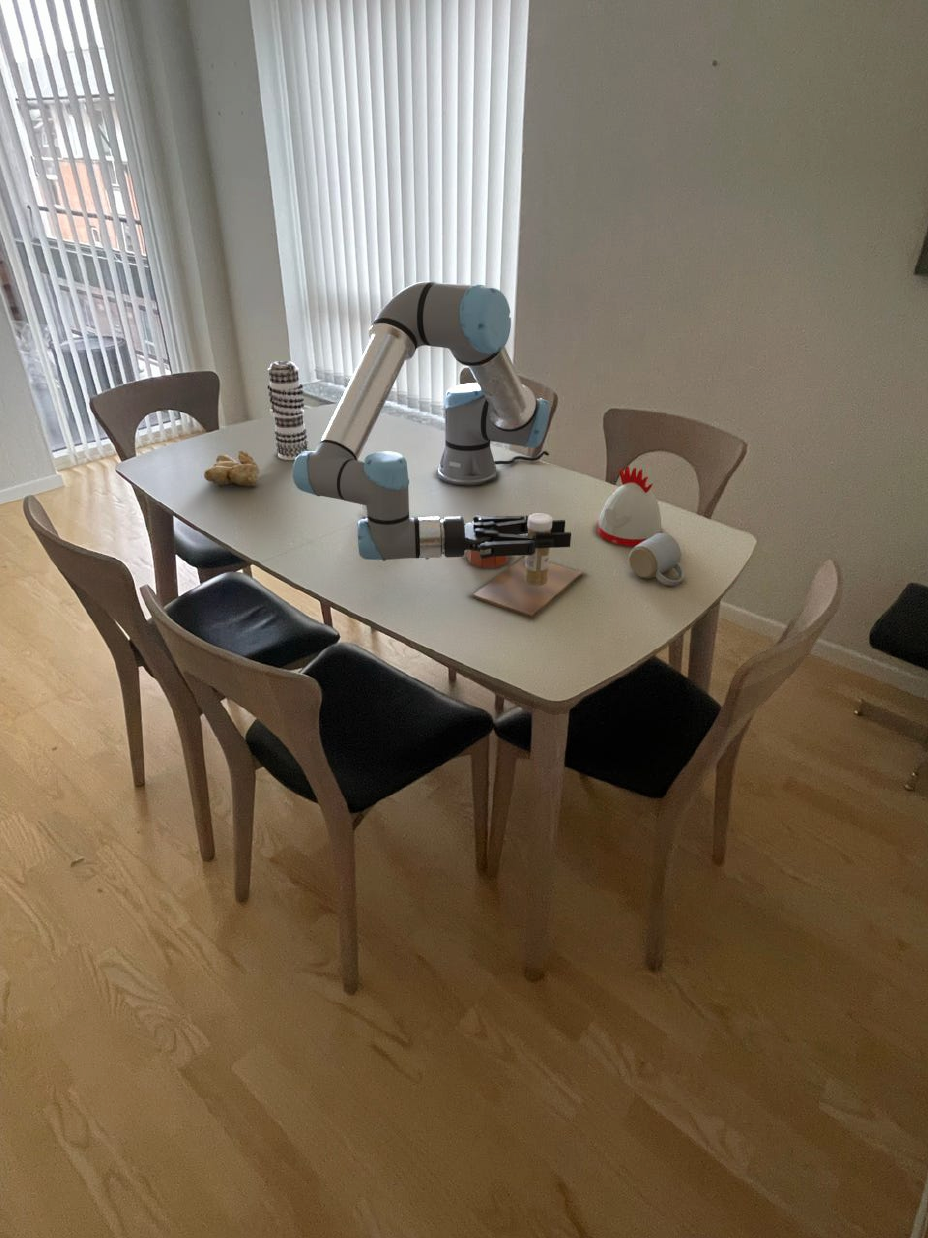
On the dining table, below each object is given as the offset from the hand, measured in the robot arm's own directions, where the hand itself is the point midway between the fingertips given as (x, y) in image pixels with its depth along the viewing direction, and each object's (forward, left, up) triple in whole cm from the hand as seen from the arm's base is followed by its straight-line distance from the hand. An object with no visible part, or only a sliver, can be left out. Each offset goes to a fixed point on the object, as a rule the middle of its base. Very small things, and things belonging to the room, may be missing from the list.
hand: (567, 533), depth 138 cm
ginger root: (0, -94, -12) cm, 95 cm away
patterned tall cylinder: (-23, -97, -12) cm, 100 cm away
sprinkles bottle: (+3, -4, -10) cm, 11 cm away
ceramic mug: (-17, +13, -12) cm, 24 cm away
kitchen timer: (-32, 0, -12) cm, 34 cm away
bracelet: (-3, -19, -12) cm, 23 cm away
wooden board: (+2, -6, -12) cm, 14 cm away
